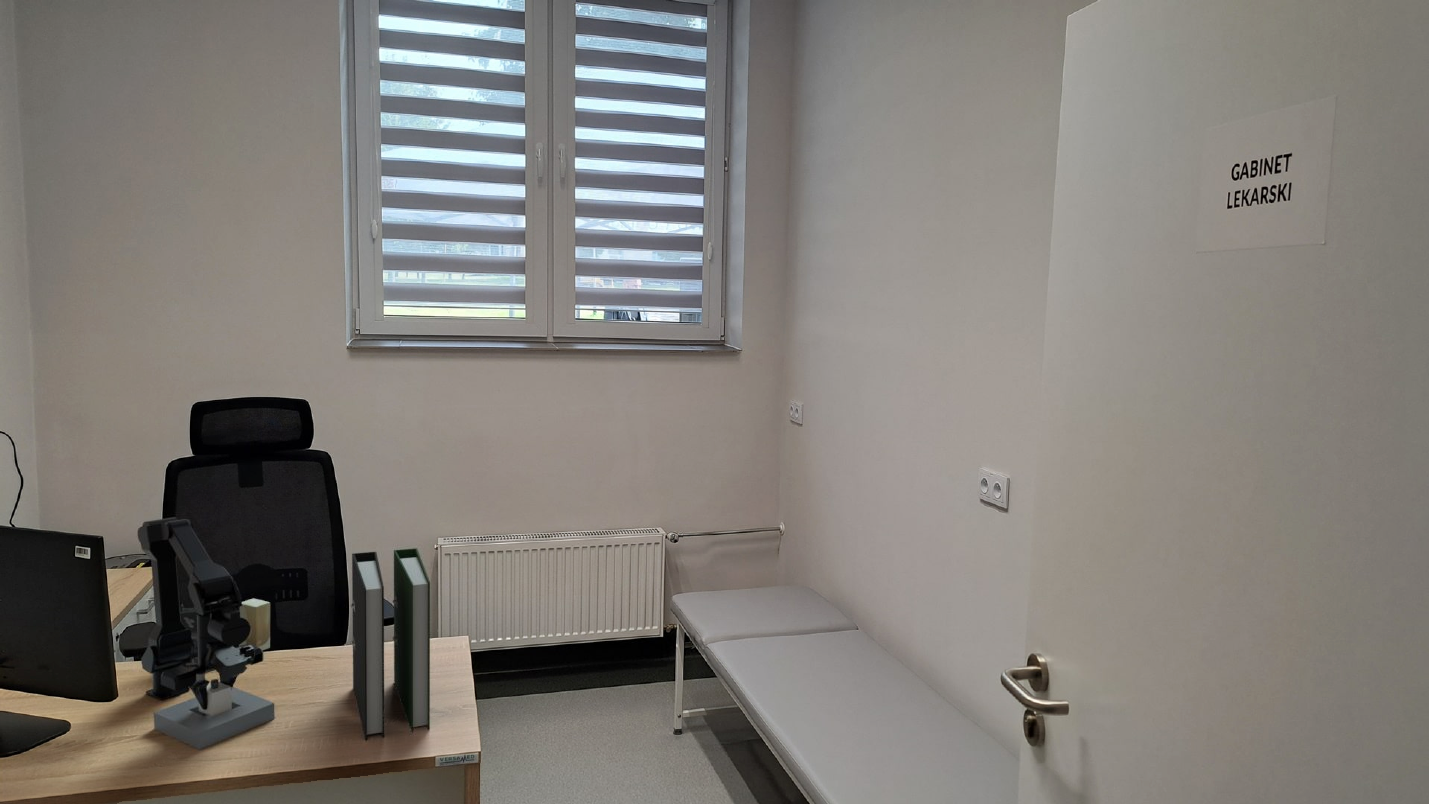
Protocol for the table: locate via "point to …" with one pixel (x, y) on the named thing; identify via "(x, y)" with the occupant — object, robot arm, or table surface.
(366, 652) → the books
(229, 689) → the plug
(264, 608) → the skincare box
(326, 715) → the table surface
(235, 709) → the socket
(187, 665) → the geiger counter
